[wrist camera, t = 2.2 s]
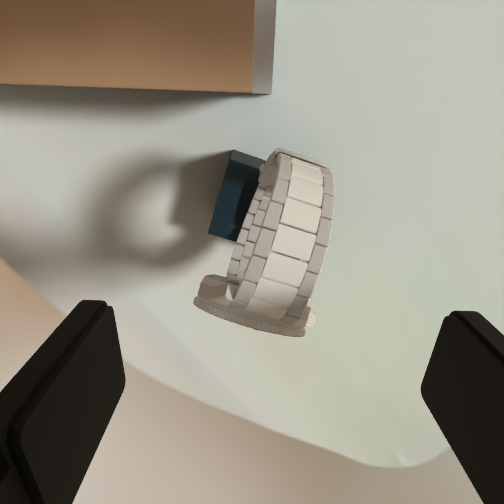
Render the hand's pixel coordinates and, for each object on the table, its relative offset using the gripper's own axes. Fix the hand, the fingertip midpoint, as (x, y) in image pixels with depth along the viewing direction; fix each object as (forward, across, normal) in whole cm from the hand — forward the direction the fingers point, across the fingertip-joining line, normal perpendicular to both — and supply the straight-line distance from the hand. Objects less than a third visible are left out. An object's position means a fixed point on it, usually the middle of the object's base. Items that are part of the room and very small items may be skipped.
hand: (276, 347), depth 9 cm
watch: (+13, 0, -1) cm, 13 cm away
